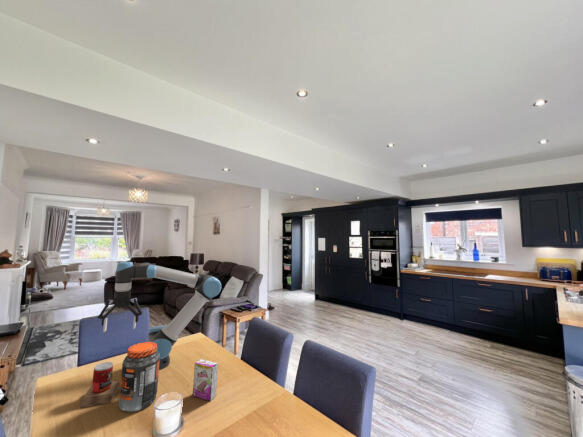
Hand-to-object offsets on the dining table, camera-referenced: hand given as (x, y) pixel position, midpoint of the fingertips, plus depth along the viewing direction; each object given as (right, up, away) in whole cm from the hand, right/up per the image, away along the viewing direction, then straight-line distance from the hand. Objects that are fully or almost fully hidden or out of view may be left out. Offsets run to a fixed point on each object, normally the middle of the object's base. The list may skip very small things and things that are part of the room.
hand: (119, 329), depth 135 cm
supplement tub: (+20, -28, -17) cm, 38 cm away
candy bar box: (+50, -29, -10) cm, 59 cm away
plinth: (0, -27, -14) cm, 31 cm away
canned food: (0, -24, -13) cm, 27 cm away
